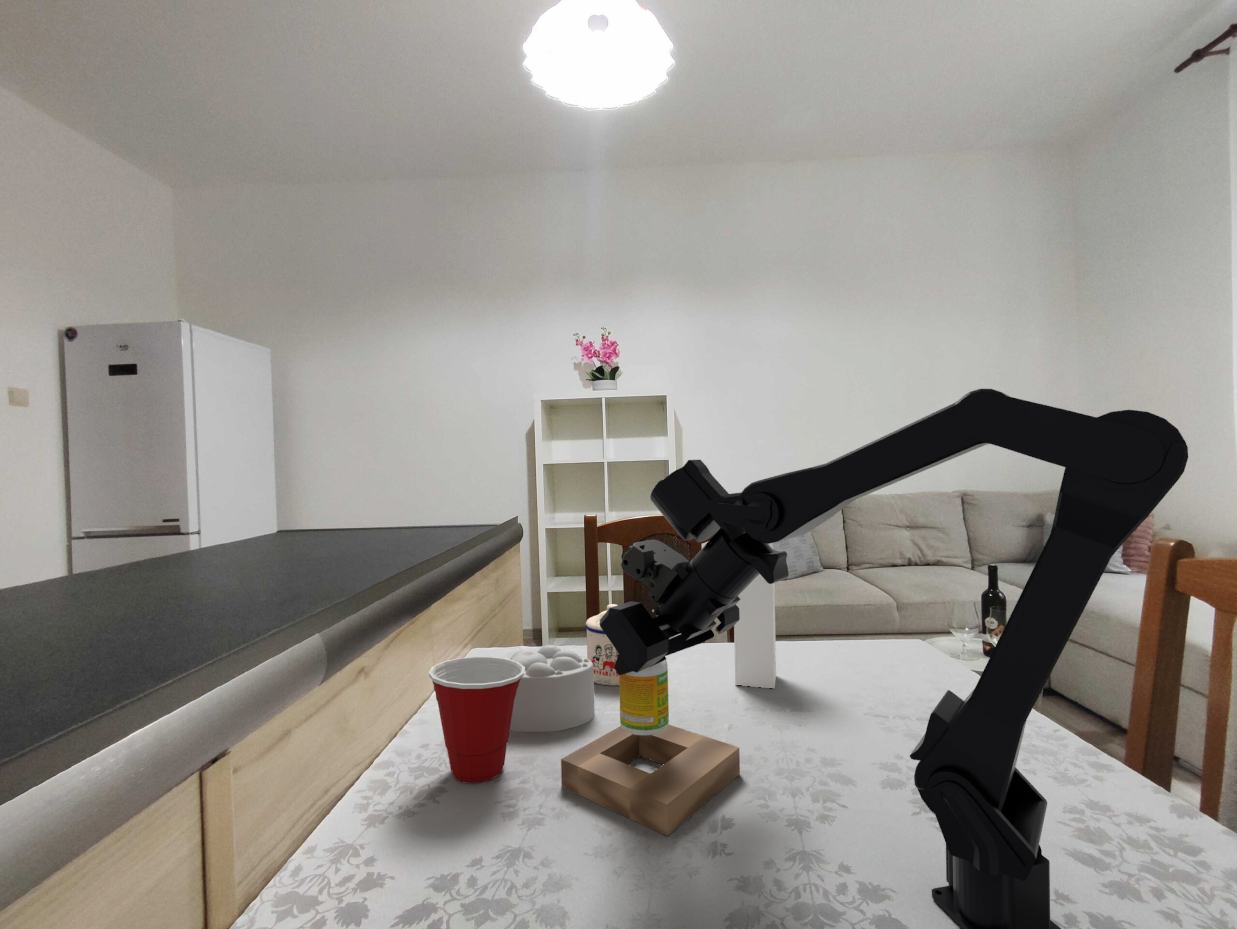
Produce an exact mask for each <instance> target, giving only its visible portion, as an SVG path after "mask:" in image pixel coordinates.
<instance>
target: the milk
mask: <svg viewBox="0 0 1237 929" xmlns="http://www.w3.org/2000/svg"><path fill="white" fill-rule="evenodd" d="M769 546H770V547H771V548H772V549H773V550H774V543H770V544H769ZM775 583H776V582H775ZM775 583H773V584H769V583H767V582H766V580H765V579H764V578H763V577H762V576H761V575H760V574H759V575H758V576H757V577H756V578H755V579H754V580H753V581H752V582H751V583H750V584H749V585H748V586H747V587H746V588H745V589H744V590H743V591H742V592H741V593H740V594H739V595H738V597H739V598H740V599H741V600H740V601H739V602H738V603H737V604H736V605H737V606H738V608H739V617H740V620H739V621H738V622H737V623H736V624H735V625H734V626H733V629H734V630H733V631H734V632H733V633H734V635H733V638H734V640H733V641H734V685H735V686H736V685H742V686H741V687H747V686H750V687H749V688H758V687H761V688H760V689H769V688H773V689H772V690H775V689H776V688H775V687H776V678H777V661H776V660H777V656H776V655H777V654H776V651H777V648H776V647H777V646H776V642H777V641H776V607H775V606H776V592H775V588H776V586H775V585H776V584H775Z"/></svg>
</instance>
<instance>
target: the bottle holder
mask: <svg viewBox="0 0 1237 929" xmlns="http://www.w3.org/2000/svg"><path fill="white" fill-rule="evenodd" d="M740 755H741V754H740V747H739V746H736V745H733V744H731V743H726V742H724V741H720V740H717V739H714V738H712V737H708V736H705V735H703V734H699V733H696V732H693V731H690V730H687V729H684V728H680V727H678V726H675V725H671V724H668V727H667V728H666V730H664V731H663V732H661V733H658V734H654V735H634V734H631V733H628V732H627V731H625V730H624V729H623V728H622V727H621V725H620V726H618V727H616V728H614V729H612V730H610V731H608V732H607V733H605V734H603V735H602V736H600V737H598V738H597V739H594V740H593V741H591V742H589V743H588V744H586V745H584V746H583V747H580V748H579V749H577V750H574V751H573V752H571V753H569V754H568V755H566V756H564V757H562V758H561V759H560V761H561V762H560V767H561V768H560V771H561V780H560V781H561V788H563V789H566V790H568V791H570V792H572V793H575V794H576V795H579V796H581V797H583V798H585V799H588V800H589V801H592V802H594V803H596V804H598V805H600V806H602V807H604V808H607V809H608V810H611V811H613V812H615V813H617V814H619V815H621V816H624V817H625V818H628V819H630V820H632V821H634V822H636V823H638V824H641V825H643V826H645V827H648V828H649V829H651V830H653V831H656V832H657V833H659V834H662V835H664V836H666V837H668V836H670V835H671V834H672V833H673V832H675V830H677V829H678V828H679V827H681V825H683V824H684V823H685V822H686V821H688V819H690V817H692V816H693V815H694V814H695V813H696V812H698V811H699V810H700V809H702V807H704V806H705V805H706V804H707V803H709V801H710V800H712V799H713V798H714V797H716V796H717V795H718V794H719V793H720V792H721V791H722V790H723V789H725V788H726V787H727V786H728V785H729V784H731V782H733V781H734V780H735V779H736V778H737V777H738V776H740V773H741V767H740V766H741V764H740V763H741V762H740V759H741V758H740ZM638 757H642V758H644V759H646V760H647V759H648V760H650V761H652V762H655V763H658V764H660V763H661V764H660V765H661V766H660V767H658V768H657V769H655V770H653V772H651V773H650V772H647V771H645V770H643V769H640V768H637V767H635V766H632V765H630V764H629V762H631V761H633V760H634V759H636V758H638ZM663 764H664V765H663ZM732 780H733V781H732Z"/></svg>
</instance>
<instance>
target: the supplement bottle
mask: <svg viewBox="0 0 1237 929" xmlns="http://www.w3.org/2000/svg"><path fill="white" fill-rule="evenodd" d="M668 670H669V668H668V662H667V659H666V660H664V661H662V662H660V663H658V664H656V665H654V666H651V667H648V668H646V669H644V670H641V671H639V672H637V673H636V672H634V671H633V672H629V673H626V674H623V675H619V685H618V687H619V720H620V721H619V722H620V726H621V727H622V728H623V729H624V730H625V731H627V732H628V733H631V734H634V735H654V734H658V733H661V732H663V731H664V730H666V728H667V727H668V724H669V723H670V722H669V721H670V720H669V719H670V715H669V711H670V710H669V709H670V708H669V707H670V706H669V678H668V677H669V675H668V674H669V672H668ZM669 725H670V724H669Z"/></svg>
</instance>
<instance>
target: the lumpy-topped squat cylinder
mask: <svg viewBox="0 0 1237 929" xmlns="http://www.w3.org/2000/svg"><path fill="white" fill-rule="evenodd" d="M505 659H509V660H513V661H516V662H519V663H520V664H522V665H523V666H524V667H525V673H524V676H523V677H522V678H521V679H520V682H519V685H518V688H517V692H516V697H515V699H514V706H513V712H512V719H511V726H510V732H521V733H522V732H523V733H524V732H526V733H549V732H550V733H551V732H559V731H564V730H567V729H573V728H575V727H579V726H581V725H583V724H586V723H588V722H590V721H591V720H593V719H594V718H595V713H596V712H595V683H594V666H593V663H592V662H591V661H590V660H589V659H587V657H585V656H581V655H579V654H578V653H576V651H573V650H570V649H565V650H562V649H561V648H559V647H558V646H556V645H553V644H545V645H543V646H541V647H540V648H539V649H538V651H532V650H526V649H525V650H523V649H522V650H518V651H516V652H514V653H513V654H512V655H509V656H507V657H506V658H505Z"/></svg>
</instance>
